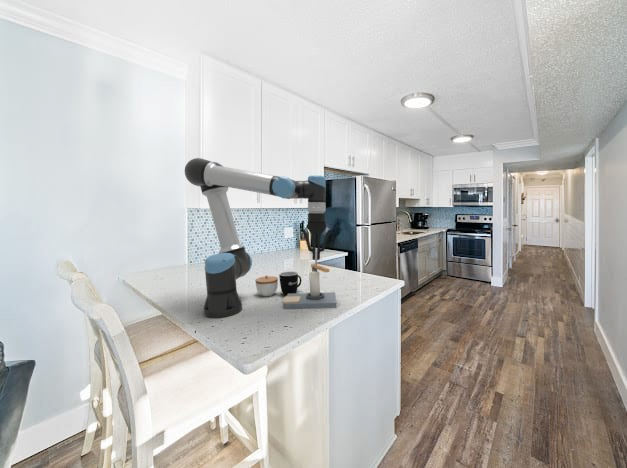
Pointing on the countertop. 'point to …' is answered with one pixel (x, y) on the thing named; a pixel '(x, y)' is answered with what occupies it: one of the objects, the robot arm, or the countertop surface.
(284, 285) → the mug
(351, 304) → the countertop surface
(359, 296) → the countertop surface
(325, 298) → the grey base with post
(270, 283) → the lidded jar
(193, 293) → the countertop surface
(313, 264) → the clip
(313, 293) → the white cylinder
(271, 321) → the countertop surface
